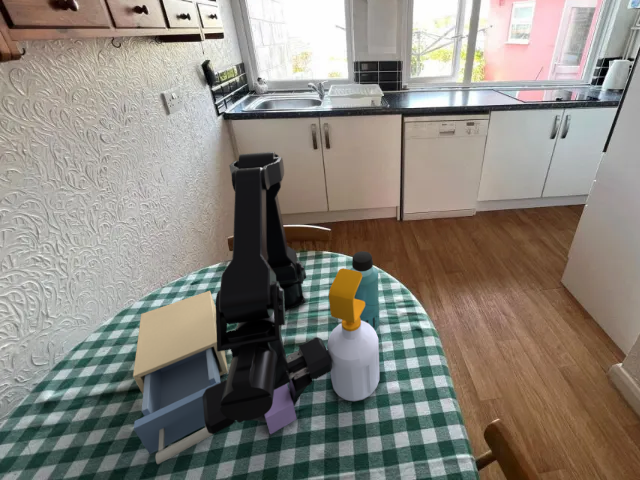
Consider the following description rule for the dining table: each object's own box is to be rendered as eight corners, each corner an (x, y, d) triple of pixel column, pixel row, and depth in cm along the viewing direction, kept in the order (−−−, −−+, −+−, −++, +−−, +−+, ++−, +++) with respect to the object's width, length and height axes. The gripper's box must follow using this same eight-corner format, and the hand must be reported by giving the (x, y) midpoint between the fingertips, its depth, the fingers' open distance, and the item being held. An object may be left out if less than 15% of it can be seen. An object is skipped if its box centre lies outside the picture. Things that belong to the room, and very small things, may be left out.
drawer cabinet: (228, 372, 61) (217, 341, 57) (150, 408, 55) (132, 376, 51) (219, 318, 73) (210, 290, 69) (154, 343, 67) (141, 313, 63)
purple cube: (289, 396, 56) (285, 381, 54) (296, 419, 53) (293, 403, 51) (264, 410, 54) (259, 394, 52) (270, 434, 51) (265, 418, 49)
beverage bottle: (366, 312, 74) (363, 242, 65) (386, 329, 69) (385, 255, 61) (345, 328, 70) (338, 255, 61) (364, 347, 65) (360, 271, 57)
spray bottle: (385, 363, 62) (384, 264, 51) (369, 409, 54) (362, 303, 44) (344, 351, 64) (335, 254, 54) (323, 393, 57) (306, 289, 46)
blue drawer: (233, 439, 49) (223, 413, 47) (147, 488, 44) (129, 462, 41) (220, 349, 64) (212, 325, 61) (154, 377, 59) (141, 352, 56)
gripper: (305, 291, 57) (315, 349, 64) (189, 337, 48) (214, 399, 55) (329, 334, 48) (337, 397, 55) (192, 400, 40) (221, 464, 46)
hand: (279, 411), depth 53 cm, fingers closed on purple cube, 4 cm apart
